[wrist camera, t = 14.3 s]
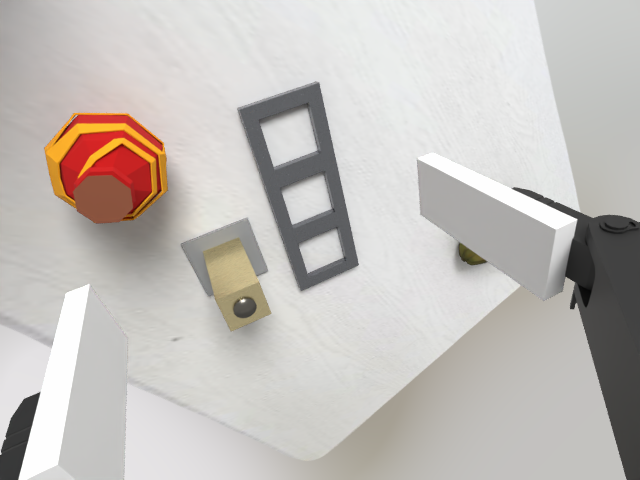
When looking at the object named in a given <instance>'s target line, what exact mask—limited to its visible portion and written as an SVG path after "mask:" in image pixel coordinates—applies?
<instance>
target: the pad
mask: <svg viewBox="0 0 640 480" xmlns="http://www.w3.org/2000/svg"><path fill="white" fill-rule="evenodd" d="M238 237H239V238H240V241H241V243H242V245H243V247H244V250H245V252H246V254H247V256H248V259H249V261H250V263H251V265H252V268H253V270H254V272H255V274H256V276H257V275H259V274H262V273H264V272H266V271H268V269H267V267H266V264H265V262H264V259H263V257H262V254H261V251H260V249H259V246H258V244H257V241H256V239H255V236H254V233H253V231H252V228H251V226H250V223H249V221H248V218H245V219H242V220H240V221H237V222H235V223H232V224H230V225H227V226H225V227H222V228H220V229H217V230H215V231H212V232H210V233H207V234H205V235H202V236H199V237H197V238H194V239H192V240H189V241H187V242H184V243H182V244H181V246H182V248H183V249H184V251H185V253H186V255H187V257H188V259H189V261H190V263H191V265H192V267H193V268H194V270H195V272H196V274H197V276H198V278H199V280H200V282H201V284H202V285H203V287H204V289H205V291H206V293H207V295H208V296H211V295H213V294H214V293H213V289H212V285H211V281H210V277H209V273H208V270H207V266H206V262H205V258H204V254H203V251H205V250H208V249H210V248H213V247H215V246H218V245H220V244H223V243H225V242H228V241H230V240H233V239H235V238H238Z"/></svg>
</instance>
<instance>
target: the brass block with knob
mask: <svg viewBox="0 0 640 480" xmlns="http://www.w3.org/2000/svg"><path fill="white" fill-rule="evenodd" d="M203 254H204V258H205V262H206V266H207V270H208V273H209V277H210V281H211V285H212V289H213V293H214V297H215V300H216V302H217V304H218V306H219V308H220V310H221V312H222V314H223V316H224V318H225V320H226V322H227V324H228V326H229V328H230V330H231V331H234V330H236V329H238V328H240V327H243V326H245V325H247V324H249V323H252V322H254V321H256V320H258V319H261V318H263V317H265V316H267V315H270V314H271V311H270V309H269V306H268V304H267V301H266V299H265V296H264V294H263V291H262V288H261V286H260V283H259V281H258V279H257V277H256V274H255V272H254V270H253V268H252V265H251V263H250V261H249V259H248V256H247V254H246V252H245V250H244V247H243V245H242V243H241V241H240V238H239V237H238V238H235V239H233V240H230V241H228V242H225V243H223V244H220V245H218V246H215V247H213V248H210V249H208V250H205V251H203Z"/></svg>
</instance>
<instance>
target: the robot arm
mask: <svg viewBox="0 0 640 480" xmlns="http://www.w3.org/2000/svg"><path fill="white" fill-rule="evenodd" d="M417 167H418V183H419V198H420V214H421V215H422V216H423V217H425V218H426V219H428V220H429V221H430V222H432V223H433V224H435V225H436V226H438V227H439V228H440V229H442V230H443V231H445V232H446V233H447V234H449V235H450V236H452V237H453V238H455V239H456V240H457V241H459V242H460V243H462V244H463V245H465V246H466V247H467V248H469V249H470V250H472V251H473V252H475V253H476V254H477V255H479V256H480V257H482V258H483V259H485V260H486V261H487V262H489V263H490V264H492V265H493V266H494V267H496V268H497V269H499V270H500V271H502V272H503V273H504V274H506V275H507V276H509V277H510V278H512V279H513V280H514V281H516V282H517V283H519V284H520V285H522V286H523V287H525V288H526V289H527V290H529V291H530V292H532V293H533V294H534V295H536V296H537V297H539V298H540V299H542V300H543V301H545V300H547V299H549V298H551V297H553V296H555V295H556V294H558V293H560V292H562V291H563V286H564V282H565V277H567V278H569V279H571V280H572V281H574V282H575V286H574V290H573V294H572V299H571V303H570V309H574V307H575V304H576V303H577V304H578V308H579V311H580V315H581V318H582V322H583V326H584V329H585V333H586V336H587V340H588V344H589V347H590V350H591V354H592V358H593V361H594V365H595V369H596V372H597V376H598V379H599V383H600V386H601V390H602V394H603V397H604V400H605V404H606V408H607V411H608V415H609V419H610V422H611V426H612V429H613V433H614V436H615V440H616V444H617V447H618V451H619V454H620V458H621V461H622V465H623V468H624V472H625V476H626V479H627V480H640V222H637V221H635V220H632V219H631V218H627V217H623V216H617V215H603V216H598V217H596V218H591V217H589V216H587V215H584V214H582V213H580V212H578V211H575V210H573V209H571V208H569V207H566V206H564V205H562V204H560V203H557V202H556V203H555V202H554V201H553V200H551V199H548V198H544V197H543V196H542V195H539V194H537V193H535V192H533V191H530V190H525V189H520V188H515V187H514V188H512V189H510V188H508V187H506V186H504V185H502V184H500V183H497V182H495V181H493V180H491V179H489V178H487V177H484V176H482V175H480V174H478V173H476V172H474V171H472V170H469V169H467V168H465V167H463V166H461V165H459V164H456V163H454V162H452V161H450V160H448V159H446V158H443V157H441V156H439V155H437V154H435V153H433V152H432V153H430V154H427V155H425V156H422V157H419V158H417ZM127 359H128V337H127V335H126V334H125V333H124V331H123V330H122V328H121V327H120V326H119V324H118V323H117V321H116V320H115V319H114V317H113V316H112V314H111V313H110V312H109V310H108V309H107V308H106V306H105V305H104V303H103V302H102V301H101V299H100V298H99V296H98V295H97V294H96V292H95V291H94V289H93V288H92V287H91V285H90V284H88V285H86V286H83V287H81V288H78V289H75V290H73V291H70V292H68V293H66V296H65V300H64V304H63V308H62V312H61V315H60V319H59V323H58V327H57V331H56V335H55V339H54V343H53V347H52V351H51V355H50V358H49V363H48V366H47V370H46V374H45V378H44V382H43V386H42V390H41V392H39V393H37V394H35V395H32V396H30V397H28V398H25V399H24V400H23V401H22V403H21V404H20V406H19V407H18V409H17V410H16V412H15V413H14V415H13V416H12V418H11V420H10V424H9V427H8V430H7V433H6V440H4V443H3V446H2V449H1V453H2V455H0V480H124V466H125V465H124V464H125V430H126V395H127Z"/></svg>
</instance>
